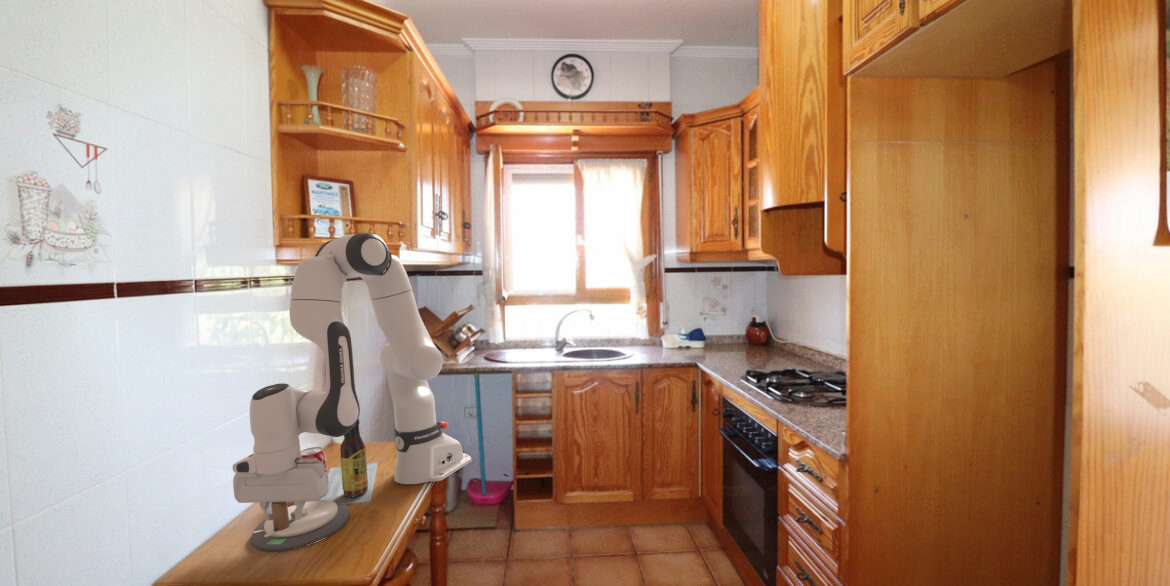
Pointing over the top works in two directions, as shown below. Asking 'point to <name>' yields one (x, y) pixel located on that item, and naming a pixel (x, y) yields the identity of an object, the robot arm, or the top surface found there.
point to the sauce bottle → (353, 463)
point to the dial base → (300, 540)
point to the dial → (311, 520)
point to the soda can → (316, 456)
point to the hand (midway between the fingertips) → (284, 519)
